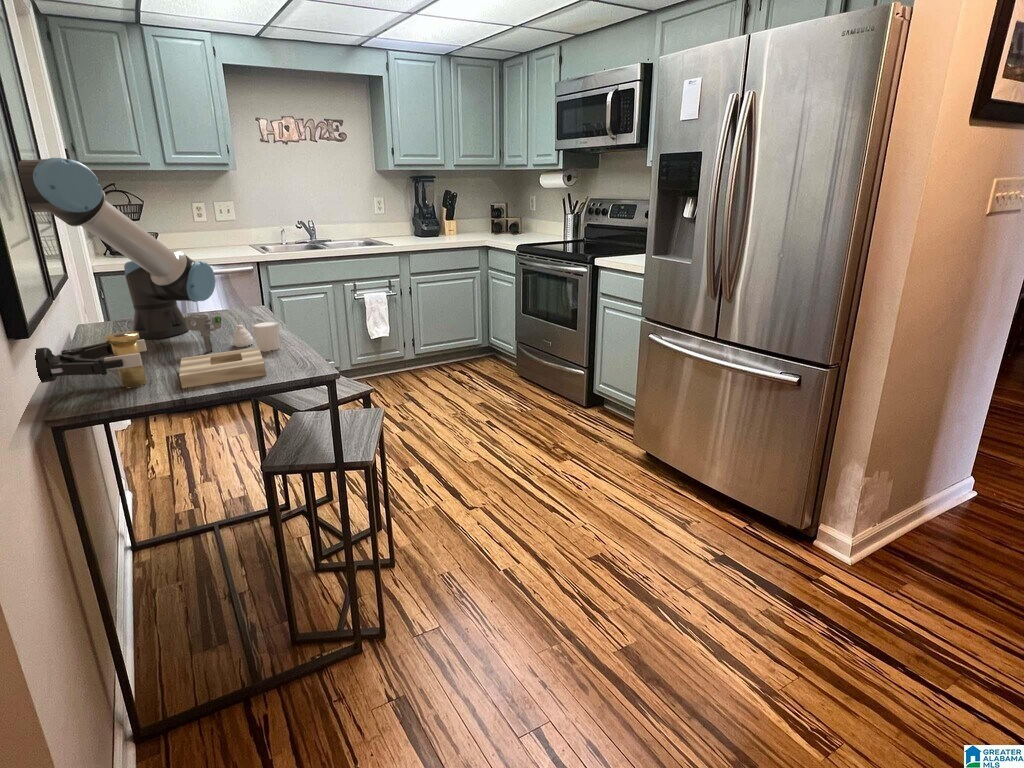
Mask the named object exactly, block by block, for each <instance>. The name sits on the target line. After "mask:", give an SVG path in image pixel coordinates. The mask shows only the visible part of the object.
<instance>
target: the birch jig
mask: <svg viewBox="0 0 1024 768" xmlns="http://www.w3.org/2000/svg"><path fill="white" fill-rule="evenodd" d="M261 352H262V351H260V349H259V347H258V346H257V347H251V348H243V349H237V350H230V351H224V352H215V353H208V354H201V355H193V356H187V357H181V359H180V367H179V375H178V376H179V380H180V381H179V382H180V385H181V388H182V389H186V388H187V387H188V388H194V387H199V386H205V385H213V384H217V383H226V382H230V381H236V380H237V381H238V380H245V379H249V378H254V377H255V378H256V377H262V376H267V370H266V364H265V361H264V357H263V354H262V353H261ZM188 388H187V389H188Z"/></svg>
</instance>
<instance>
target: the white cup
mask: <svg viewBox="0 0 1024 768" xmlns="http://www.w3.org/2000/svg"><path fill="white" fill-rule="evenodd" d="M279 326H280V325H279V321H261V322H257V323H254V324H252V325H251V328H252V332H253V335H254V338H255V342H256V345H257V347H259V349H260V352H272V351H271V350H273V351H276V350H275V349H277V348H279V347H280V348H281V344H280V330H279V329H280V328H279ZM280 348H279V349H280ZM277 350H278V349H277Z"/></svg>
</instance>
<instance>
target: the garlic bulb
mask: <svg viewBox="0 0 1024 768" xmlns="http://www.w3.org/2000/svg"><path fill="white" fill-rule="evenodd" d="M235 327H236V329H235V330H234V332H233V335H232V340H231V341H232V343H231V344H232V346H233V347H235V346H236V347H235V348H245V347H244V346H247V347H249V346H248V345H250V346H252V345H253V341H254V338H253V336H252V335H251V333H250V332H249V331H248V329H246V328H245V326H244V325H242V324H237V325H235ZM251 344H252V345H251Z"/></svg>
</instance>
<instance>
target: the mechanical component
mask: <svg viewBox="0 0 1024 768" xmlns="http://www.w3.org/2000/svg"><path fill="white" fill-rule="evenodd" d="M184 321H185V322H186V323H187V327H188V329H189V330H188V331H193V332H194V331H195V332H196V331H197V332H200V337H202V338H203V343H204V348H205V351H206V353H211V352H213V350H214V349H213V346H212V342H211V341H212V340H211V335H212V333H211V332H214V331H215V330H216V331H217V330H218V329H221V327H222V318H221V317H220V316H218V315H214V316H212V317H211V318H210V317H209V315H208V314H189V315H187V316H184ZM212 325H213V326H212Z"/></svg>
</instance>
